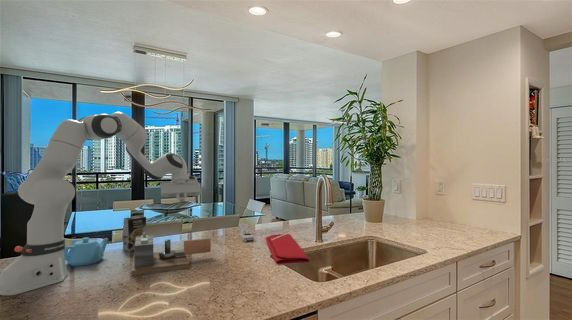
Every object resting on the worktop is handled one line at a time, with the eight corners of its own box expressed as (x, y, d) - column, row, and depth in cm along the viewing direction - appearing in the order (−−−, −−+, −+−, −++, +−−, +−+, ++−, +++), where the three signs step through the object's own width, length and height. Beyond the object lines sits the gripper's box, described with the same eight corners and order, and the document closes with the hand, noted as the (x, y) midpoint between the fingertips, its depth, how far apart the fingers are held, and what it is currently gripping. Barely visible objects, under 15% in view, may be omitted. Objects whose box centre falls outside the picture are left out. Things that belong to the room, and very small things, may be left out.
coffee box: (128, 251, 149) (128, 219, 149) (122, 249, 153) (122, 217, 153) (146, 247, 156) (146, 216, 156) (140, 245, 160) (140, 215, 160)
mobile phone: (247, 223, 192) (254, 231, 168) (247, 232, 192) (254, 242, 168) (238, 223, 191) (243, 232, 167) (238, 233, 190) (243, 243, 166)
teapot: (72, 257, 139) (72, 234, 139) (108, 254, 144) (108, 232, 144) (58, 269, 125) (58, 243, 125) (99, 265, 129) (99, 240, 129)
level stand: (189, 267, 127) (189, 235, 127) (131, 275, 118) (131, 241, 118) (183, 253, 147) (183, 225, 147) (133, 259, 138) (133, 229, 138)
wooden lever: (211, 253, 140) (211, 237, 140) (159, 259, 130) (159, 242, 130) (208, 249, 146) (208, 233, 146) (158, 255, 136) (158, 238, 136)
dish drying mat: (275, 265, 132) (275, 257, 132) (264, 240, 172) (264, 234, 172) (309, 263, 135) (309, 255, 135) (291, 239, 175) (291, 233, 175)
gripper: (159, 178, 157) (160, 199, 148) (199, 177, 165) (202, 196, 157) (159, 185, 161) (160, 206, 152) (198, 184, 170) (201, 204, 161)
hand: (182, 201), depth 154 cm, fingers closed
